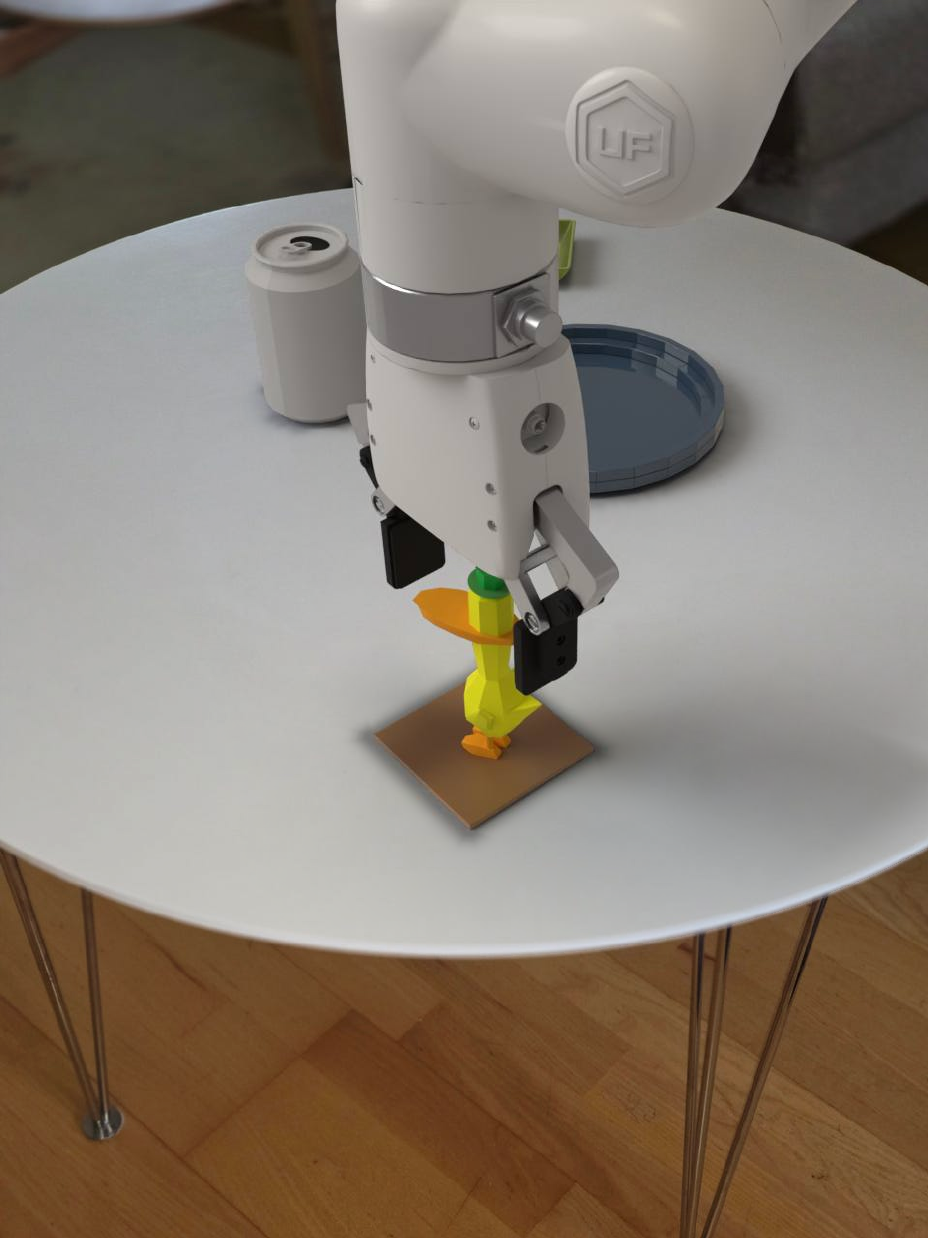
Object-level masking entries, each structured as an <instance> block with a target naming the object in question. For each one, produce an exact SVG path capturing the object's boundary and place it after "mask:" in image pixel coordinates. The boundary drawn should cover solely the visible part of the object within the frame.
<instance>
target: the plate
mask: <svg viewBox="0 0 928 1238" xmlns="http://www.w3.org/2000/svg"><path fill="white" fill-rule="evenodd" d="M561 334H562V335H563V336H565V337H566V338H567V339H568V340H569V342H570V345H571V349H572V353H573V357H574V361H575V365H576V370H577V375H578V380H579V386H580V391H581V397H582V404H583V412H584V419H585V429H586V439H587V453H588V468H589V492H590V494H596V493H597V494H599V493H607V492H615V491H623V490H624V491H625V490H632V489H636V488H639V487H643V486H647V485H648V484H653V483H656V482H660V481H662V480H663V481H664V480H667V479H668V478H670V477H672V476H674V475H677V474H678V473H680V472H682V471H684V470H685V469H687V468H690V467H691V466H694V465H695V464H696V463H697V462H698V461H700V460H701V459H702V458H703V457H704V456H705V455H706V454H707V453H708V452H709V451H710V450H711V449H712V448H713V447H714V446H715V444H716V442H717V439H718V437H719V435H720V433H721V431H722V428H723V426H724V418H725V417H724V416H725V408H726V404H725V403H726V401H725V386H724V384H723V382H722V380H721V379H720V376H719V375H718V373H717V371H716V370H715V368H714V366H713V365H711V364H710V363H709V362H708V361H706V359H705V358H703V356H701V355H700V354H698V353H697V351H695V350H693V349H691V348H690V347H687V346H685V345H684V344H681V343H680V342H678V341H676V340H674V339H673V338H671V337H667V336H664V335H660V334H658V333H654V332H650V331H649V330H644V329H641V328H635V327H629V326H622V325H617V324H616V325H615V324H608V323H568V324H562V331H561Z"/></svg>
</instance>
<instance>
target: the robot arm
mask: <svg viewBox="0 0 928 1238" xmlns="http://www.w3.org/2000/svg"><path fill="white" fill-rule="evenodd" d="M857 1H858V0H336V1H335V19H336V35H337V45H338V53H339V64H340V74H341V84H342V92H343V103H344V113H345V121H346V130H347V141H348V151H349V161H350V172H351V181H352V189H353V191H352V192H353V200H354V209H355V219H356V228H357V238H358V239H357V240H358V246H359V247H358V248H359V254H360V255H359V258H360V262H361V272H362V282H363V292H364V302H365V312H366V322H367V339H366V397H365V398H362V399H360V400H358V401H355V402H353V403H351V404H349V405H347V413H348V416H347V417H348V418H349V419H348V420H349V421H350V424H351V426H352V430H353V432H354V434H355V438H356V440H357V443H358V444H359V445H362V448H360V449H359V451H358V452H359V463H360V465H361V466H362V467H363V468H364V470H365V472H366V473H367V475H368V477H369V479H370V481H371V483H372V485H373V486H374V488H375V490H374V491H373V492H372V494H371V495H370V500H371V505H372V507H373V509H374V511H375V512H376V513H377V514H378V515H379V516H380V517H383V519H382V520H380V521H379V523H380V531H381V533H380V534H381V541H382V550H383V559H384V569H385V579H386V582H387V584H388V585H389V586H390V587H392V588H393V589H394V590H403V589H405V588H406V587H408V586H409V585H411V584H413V583H415V582H418V581H419V580H422V579H423V578H425V577H427V576H428V575H431V574H433V573H435V572H436V571H438V570H441V569H442V568H444V566H445V565H446V563H447V562H446V547H445V546H446V545H447V546H448V547H450V548H451V549H452V550H454V551H455V552H456V553H458V554H459V555H460V556H462V557H463V558H465V559H466V560H467V561H468V562H470V563H472V564H473V565H474V566H475V567H476V566H477V567H478V568H480V569H481V570H483V571H484V572H486V573H488V574H490V575H492V576H495V577H498V578H500V579H504V581H505V583H506V585H507V588H508V590H509V592H510V594H511V596H512V598H513V600H514V605H515V606H516V609H517V611H518V613H519V615H520V617H521V619H520V618H519V621H517V622H516V623H515V625H514V627H513V640H514V645H513V666H514V667H513V668H514V674H515V686H516V689H517V690H518V691H520V692H521V693H522V694H523V695H525V696H528V695H532V694H533V693H535V692H537V691H538V690H541V688H543V687H546V686H547V685H548V684H550V683H552V682H555V681H557V680H559V679H561V678H562V677H564V676H565V675H567V674H568V673H569V672H570V671H571V670H573V669H574V668H575V667H576V665H577V663H578V641H579V640H578V636H579V635H578V634H579V633H578V631H579V629H578V628H579V617H580V616H582V615H584V614H586V613H588V612H589V611H591V610H593V609H595V608H596V607H597V606H600V605H601V604H603V603H604V602H605V599H606V597H607V595H608V594H609V593H610V591H611V589H612V588H613V587H614V586H615V584H616V583H617V582H618V580H619V578H620V570H619V568H618V566H617V564H616V563H615V561H614V560H613V558H612V557H611V556H610V554H609V553H608V552H607V551H606V549H605V548H604V547H603V546H602V544H601V543H600V542H599V540H598V539H597V538H596V537H595V535H594V533H593V532H592V531H591V530H590V523H591V522H590V520H591V517H590V516H591V510H590V509H591V504H590V503H591V502H590V501H591V499H590V494H591V493H590V492H589V468H588V453H587V439H586V429H585V419H584V412H583V404H582V397H581V391H580V386H579V380H578V375H577V370H576V365H575V361H574V357H573V353H572V349H571V345H570V342H569V340H568V339H567V338H566V337H565V336H563V335H562V334H561V331H562V325H563V323H564V322H563V319H562V316H561V315H560V314H559V313H560V304H559V302H560V301H559V299H560V295H559V294H560V292H559V289H560V286H559V285H560V282H559V281H560V280H559V248H558V245H559V219H560V217H559V216H560V209H562V210H565V211H568V212H571V213H575V214H578V215H581V216H583V217H588V218H591V219H594V220H597V221H600V222H603V223H608V224H613V225H617V226H622V227H630V228H638V229H639V228H640V229H660V228H661V229H662V228H671V227H676V226H680V225H684V224H687V223H689V222H692V221H694V220H697V219H699V218H702V217H705V216H706V215H707V214H708V213H711V212H712V211H713V210H715V209H716V208H717V207H718V206H720V205H721V204H722V203H724V202H725V201H726V200H727V199H728V198H729V197H730V196H731V195H732V194H734V192H735V190H736V189H737V188H738V187H739V186H740V184H741V183H742V182H743V180H744V179H745V178H746V176H747V174H748V173H749V171H750V169H751V167H752V166H753V164H754V162H755V160H756V157H757V155H758V153H759V150H760V148H761V146H762V144H763V141H764V140H765V137H766V136H767V133H768V131H769V129H770V126H771V124H772V121H773V120H774V118H775V116H776V113H777V109H778V107H779V104H780V102H781V99H782V97H783V95H784V93H785V90H786V88H787V86H788V84H789V82H790V80H791V78H792V76H793V73H794V72H795V70H796V68H797V67H798V66H799V65H800V63H801V62H802V61H803V59H804V58H805V57H806V56H807V55H808V54H809V53H810V51H811V50H812V49H813V48H814V47H815V46H816V45H817V44H818V42H819V41H820V40H821V39H822V38H823V37H824V36H825V35H826V34H827V32H829V30H831V29H832V27H834V25H835V24H836V23H837V22H839V20H840V19H841V18H842V17H843V16H844V15H845V14H846V12H847V11H849V10H850V9H851V8H852V6H853V5H854V4H856V2H857ZM384 517H386V518H384ZM535 536H536V537H537V540H538V543H539V544H540V545H539V546H538V547H536V548H534V549H532V550H530V549H531V545H532V543H533V540H534V537H535ZM543 564H545V565H546V567H547V569H548V571H549V573H550V575H551V577H552V579H553V581H554V583H555V586H556V587H557V590H556V591H554V592H552V593H551V594H549V595H547V596H546V597H544V598H541V597H540V595H539V593H538V592H537V590H536V588H535V585H534V584H533V581H532V578H531V577H530V575H529V572H531V571H533V570H534V569H536V568H538V567H539V566H542V565H543Z"/></svg>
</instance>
